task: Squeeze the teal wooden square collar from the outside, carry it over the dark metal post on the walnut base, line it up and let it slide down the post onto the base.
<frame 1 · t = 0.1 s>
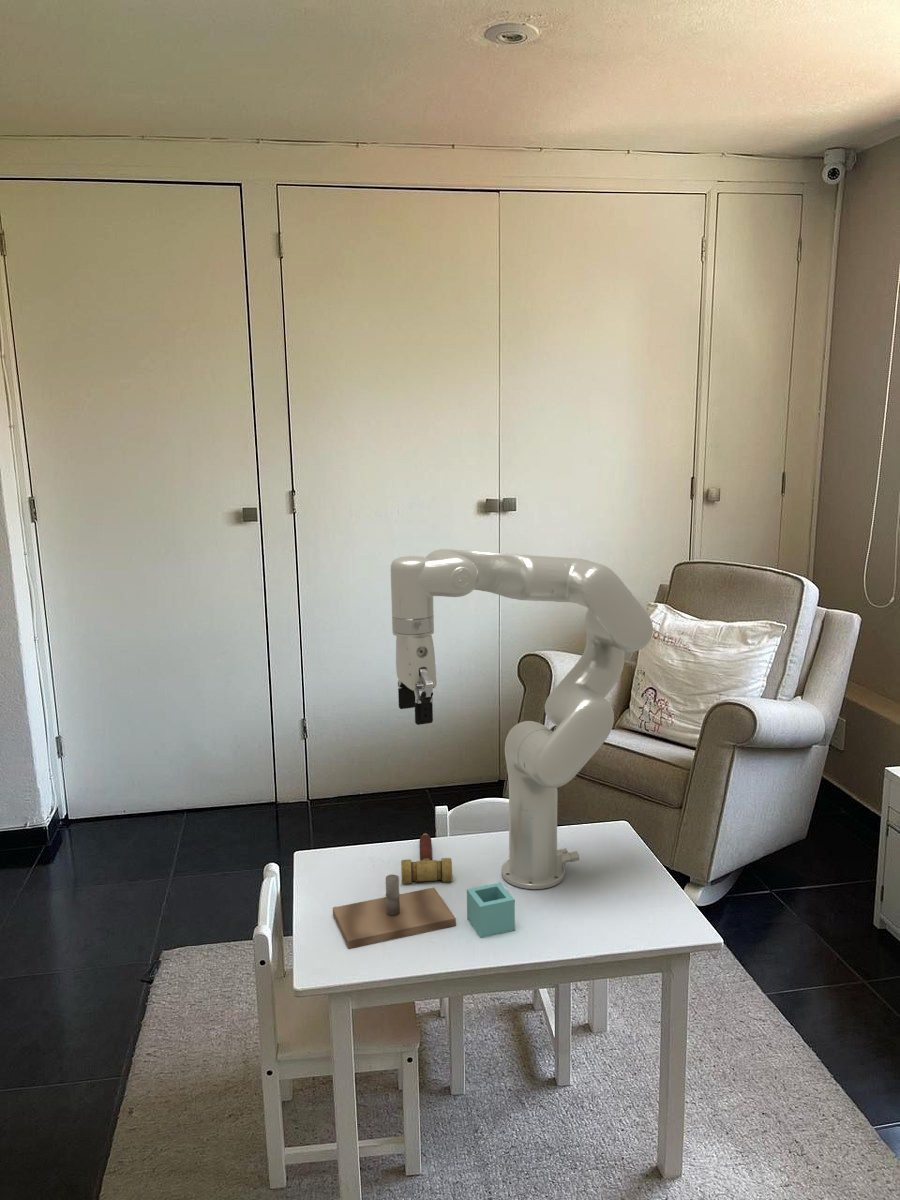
hand: (415, 715, 171), 37 cm above the table, tool pointing down, fingers open, 9 cm apart
gavel: (426, 862, 193), on the table
post stand: (393, 920, 170), on the table
collar: (490, 924, 168), on the table
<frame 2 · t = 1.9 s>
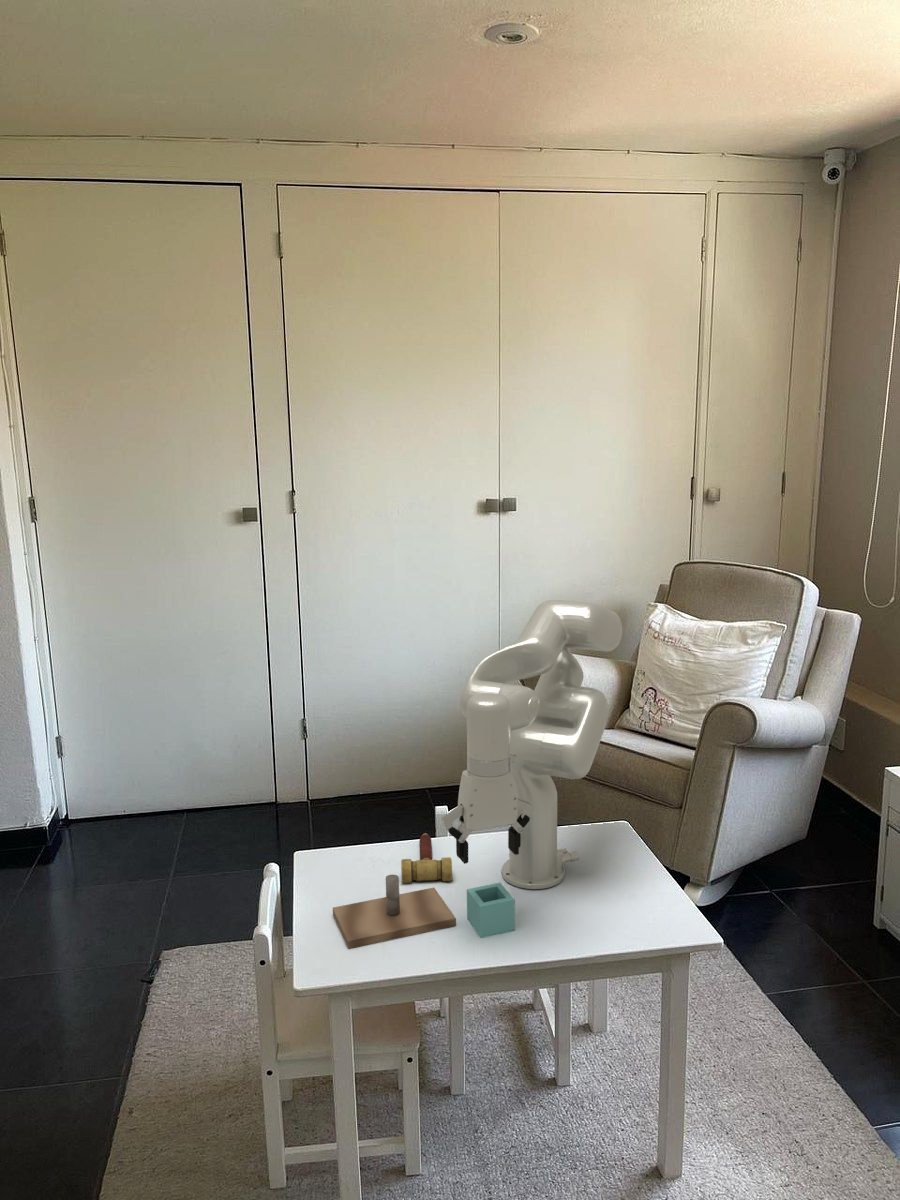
hand: (488, 855, 165), 14 cm above the table, tool pointing down, fingers open, 9 cm apart
nothing on the table moved.
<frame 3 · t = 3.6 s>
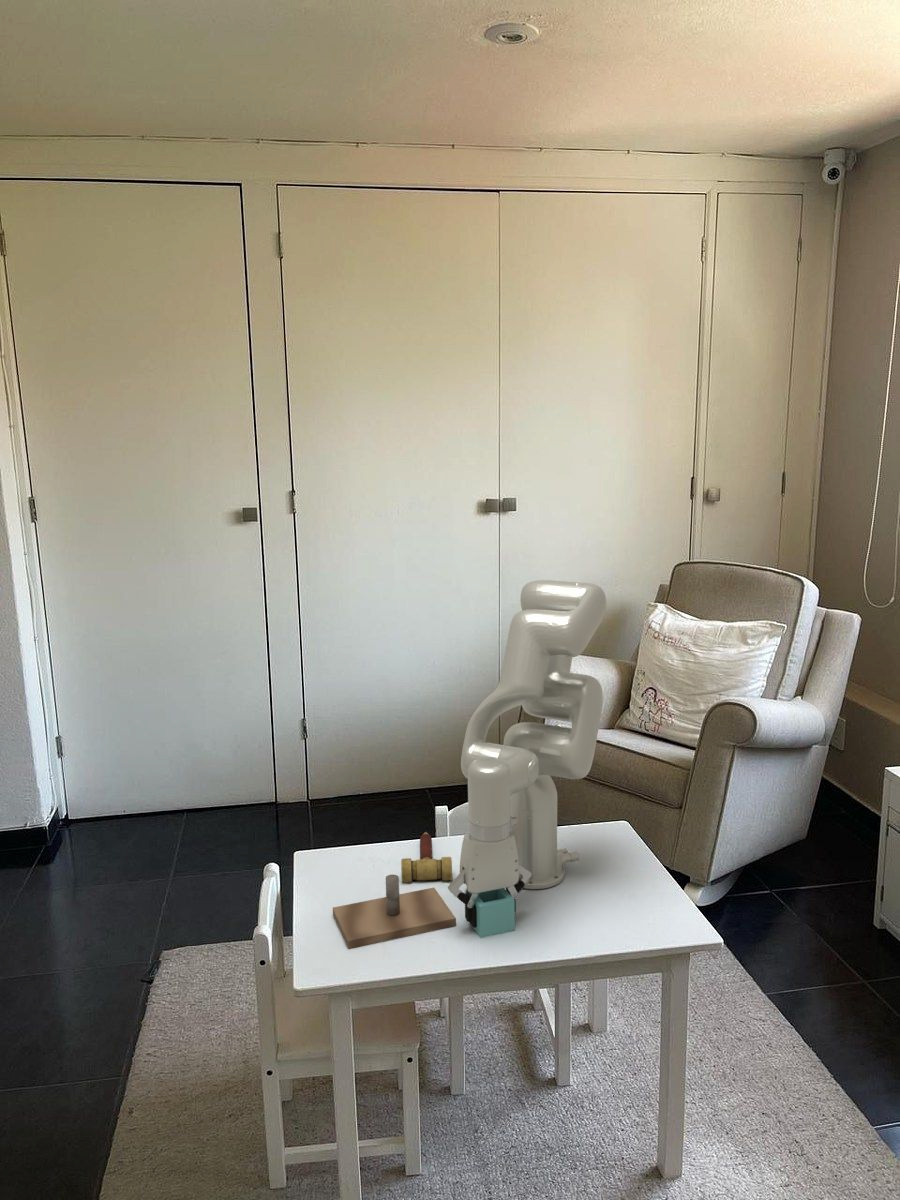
hand: (490, 919, 168), 1 cm above the table, tool pointing down, fingers closed on collar, 6 cm apart
collar: (490, 924, 168), on the table, touching gripper
everything else where it was.
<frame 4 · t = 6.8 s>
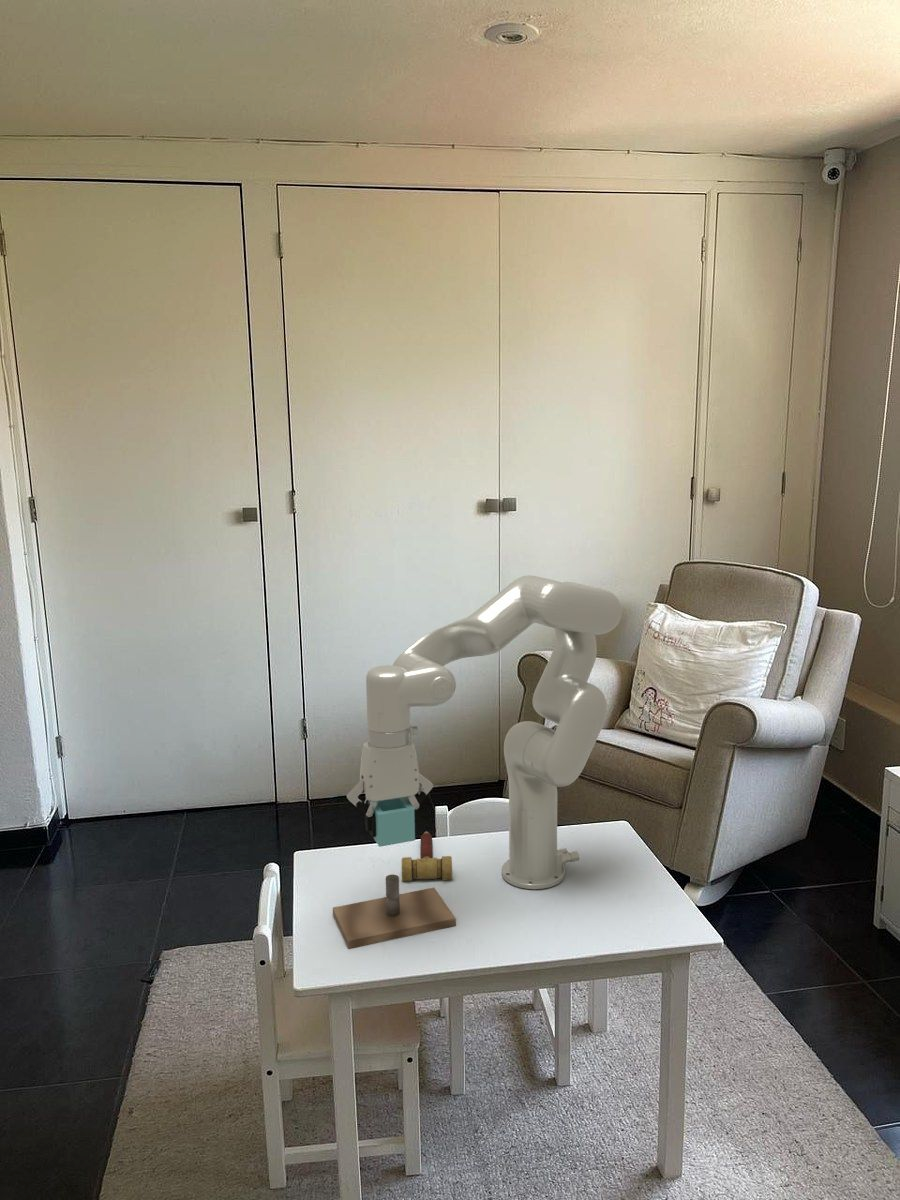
hand: (391, 830, 167), 18 cm above the table, tool pointing down, fingers closed on collar, 6 cm apart
collar: (391, 835, 167), point 17 cm above the table, touching gripper
everything else where it was.
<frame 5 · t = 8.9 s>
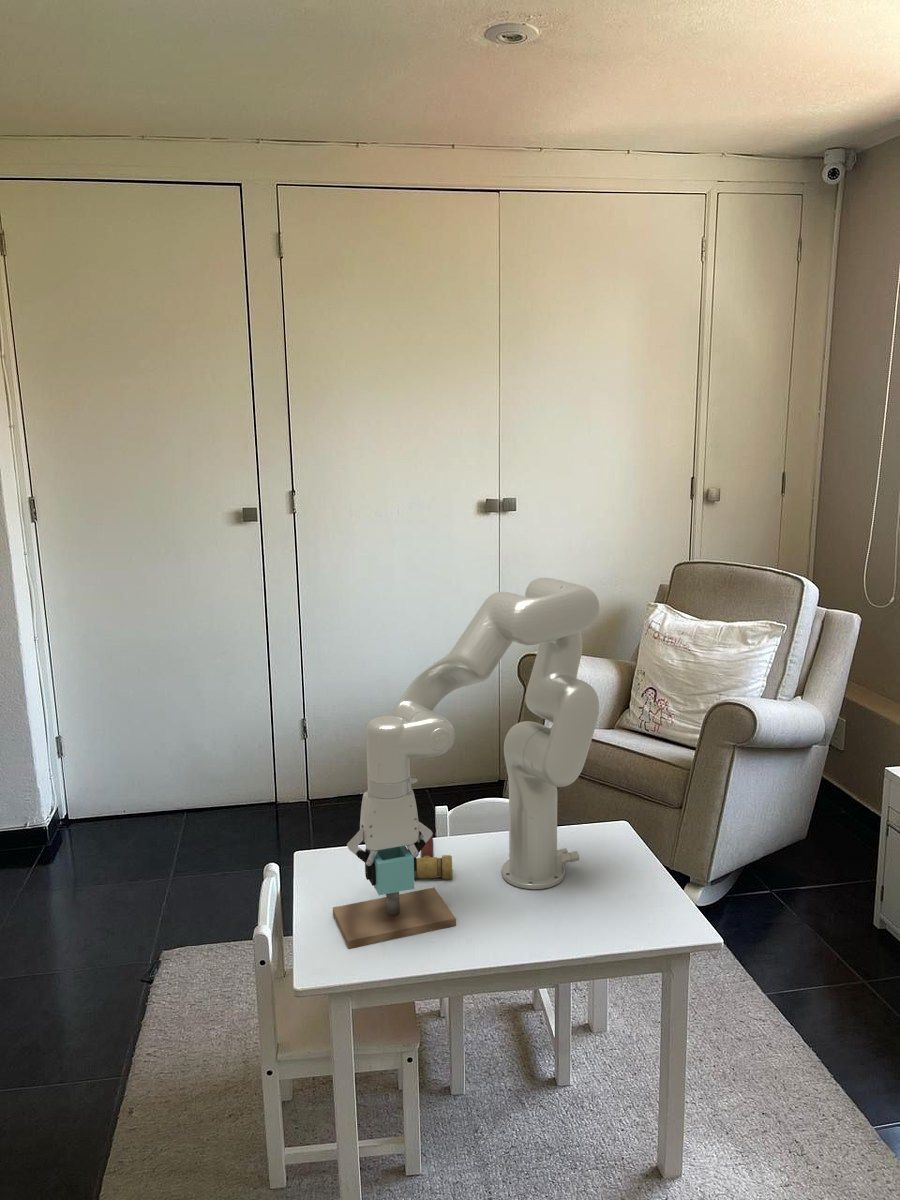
hand: (391, 877, 169), 9 cm above the table, tool pointing down, fingers closed on collar, 6 cm apart
collar: (391, 883, 169), point 7 cm above the table, touching gripper
when the fingers open (7 cm above the table, at t = 10.3 s): collar drops 4 cm, resting on post stand.
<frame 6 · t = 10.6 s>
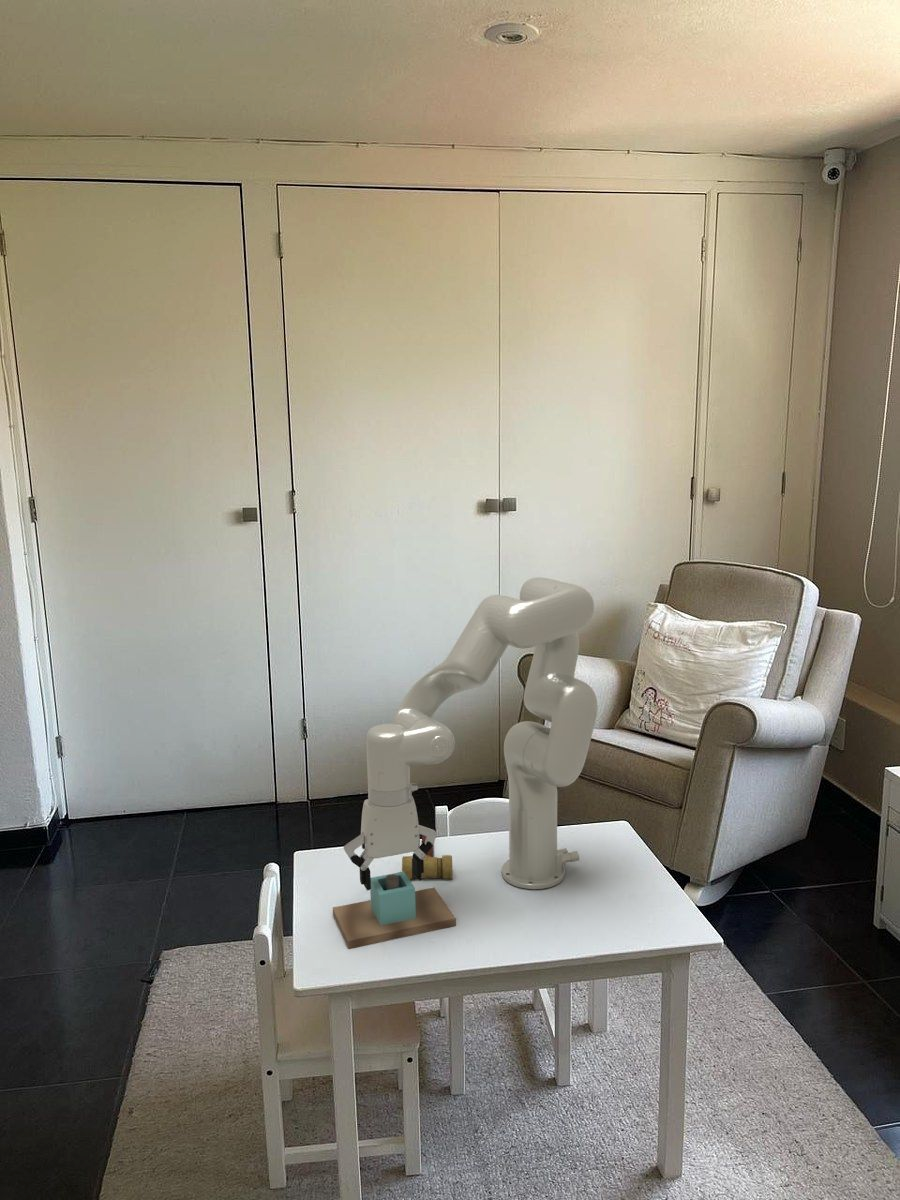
hand: (392, 881, 169), 8 cm above the table, tool pointing down, fingers open, 9 cm apart
collar: (393, 912, 170), point 1 cm above the table, touching post stand
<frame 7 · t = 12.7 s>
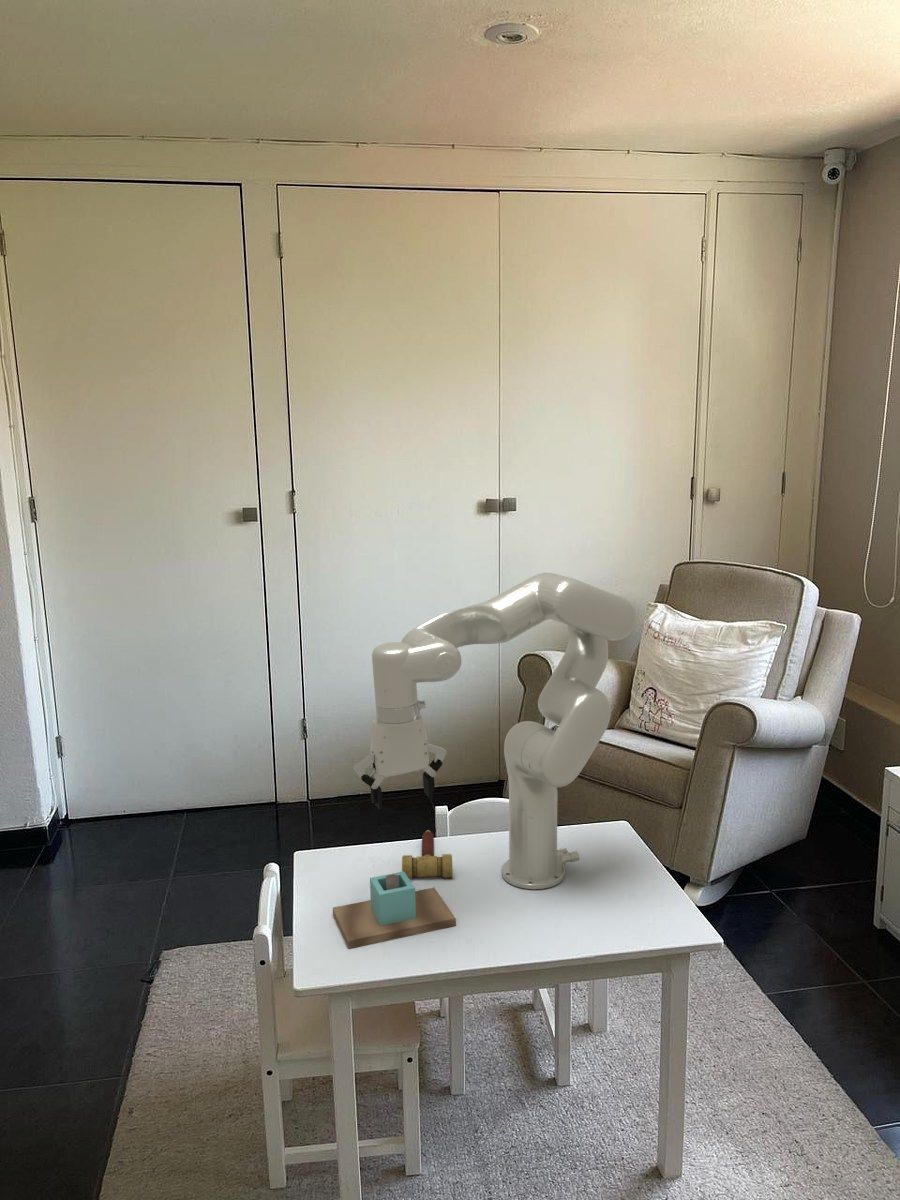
hand: (403, 800, 169), 22 cm above the table, tool pointing down, fingers open, 9 cm apart
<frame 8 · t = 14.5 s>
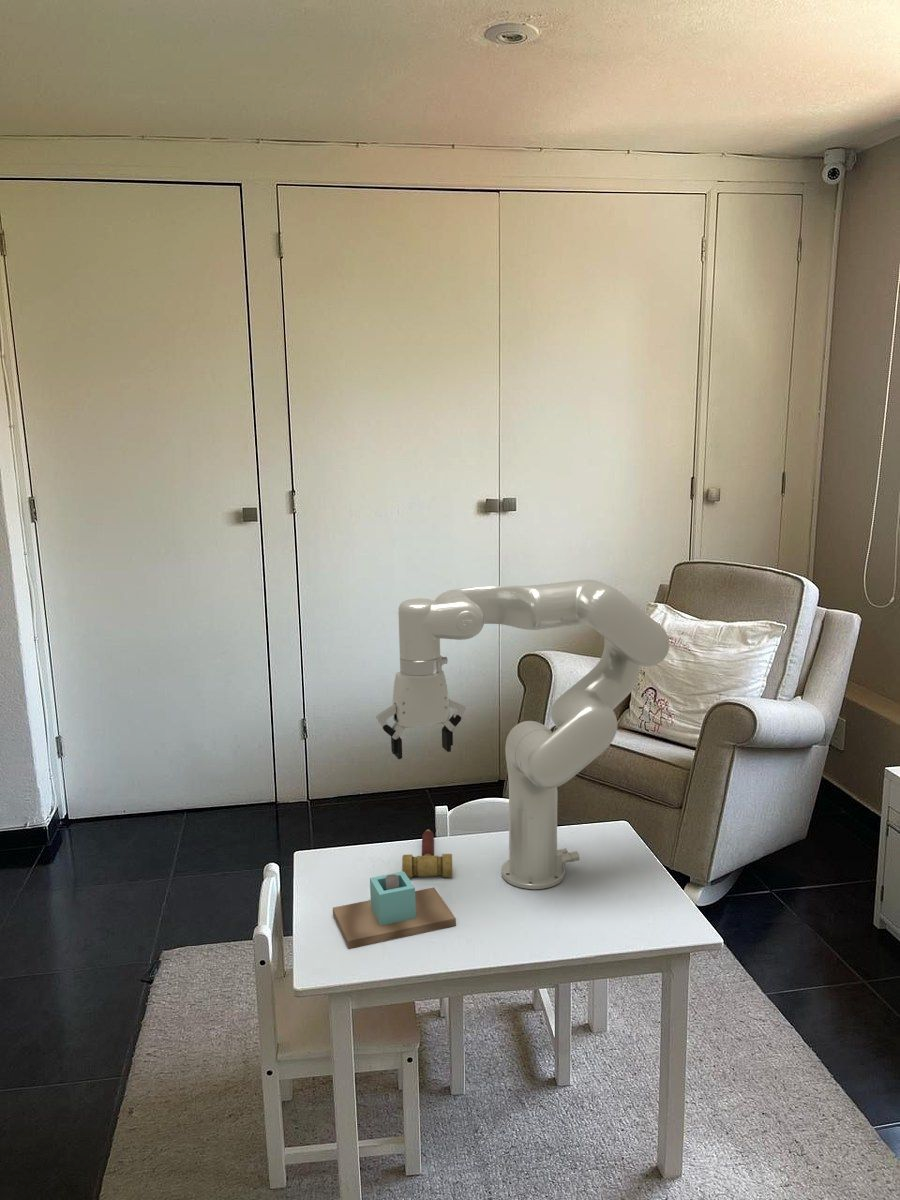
hand: (422, 753, 175), 28 cm above the table, tool pointing down, fingers open, 9 cm apart
at the end: collar 0.0 cm off-centre on the post stand, point 1.5 cm above the post stand's base; collar tilted 0°; the gripper is holding nothing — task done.
